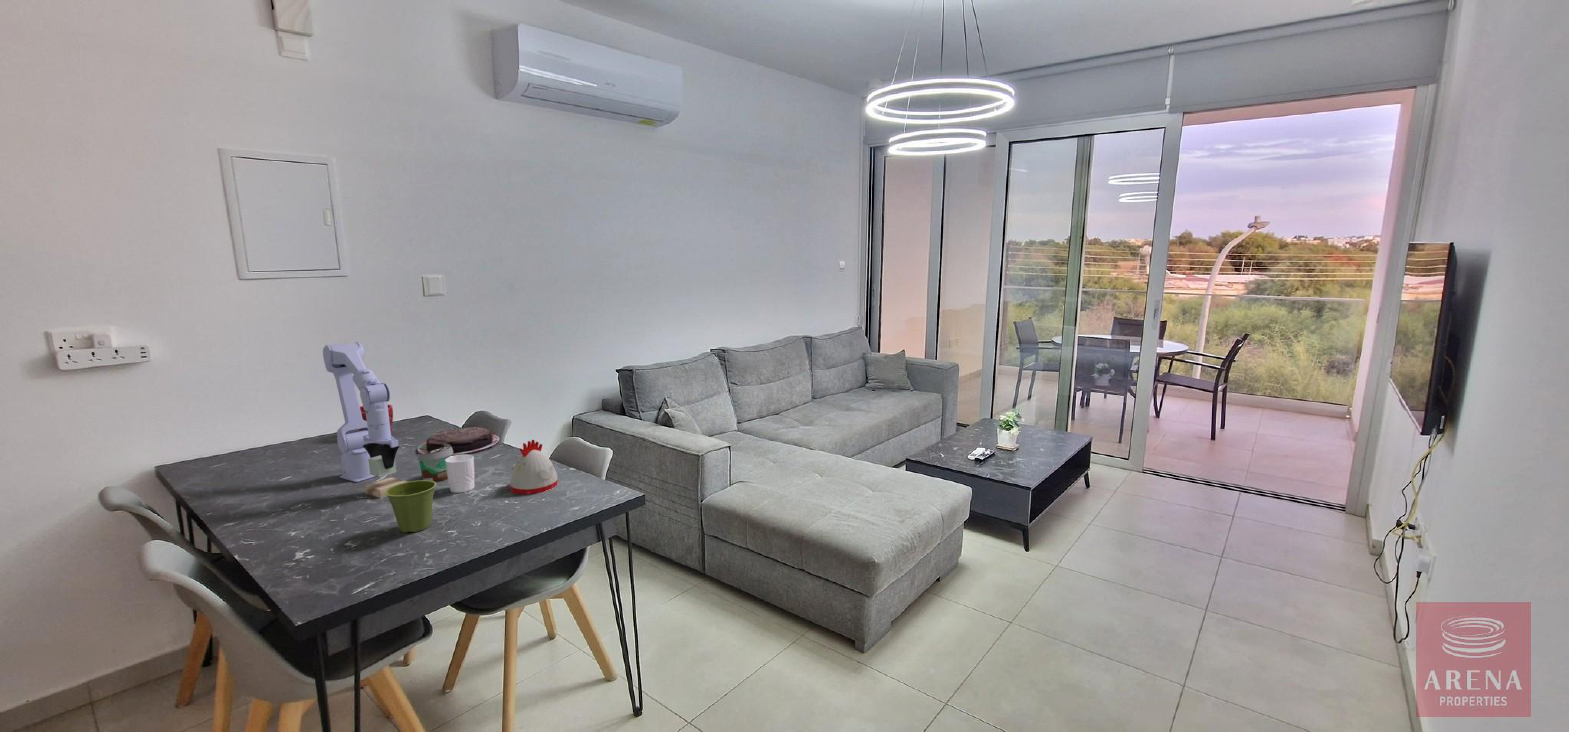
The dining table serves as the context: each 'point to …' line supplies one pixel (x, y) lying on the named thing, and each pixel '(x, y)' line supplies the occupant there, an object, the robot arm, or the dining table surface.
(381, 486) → the oak block
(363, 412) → the plant pot
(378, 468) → the sage cube
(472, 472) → the white cup
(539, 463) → the kitchen timer
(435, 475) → the food container
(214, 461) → the dining table surface
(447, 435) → the chocolate cake
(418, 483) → the plant pot
